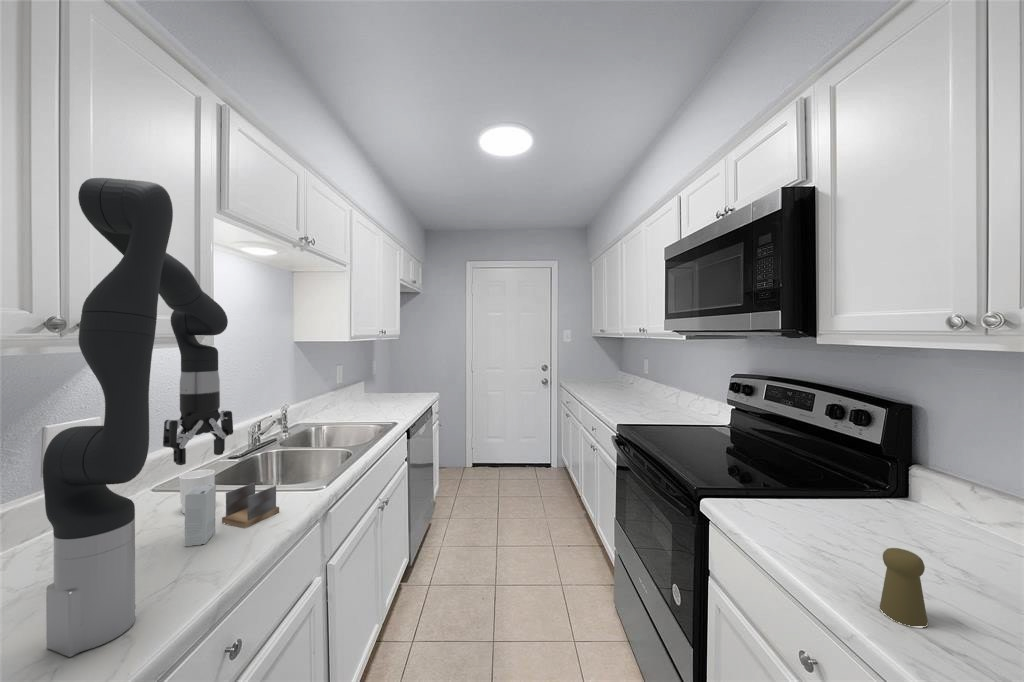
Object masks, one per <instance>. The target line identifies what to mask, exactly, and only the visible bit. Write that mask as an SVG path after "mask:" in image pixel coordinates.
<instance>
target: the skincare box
mask: <svg viewBox="0 0 1024 682" xmlns="http://www.w3.org/2000/svg"><path fill="white" fill-rule="evenodd" d="M216 491H217V486H216V484H215V483H214V485H203V486H196V487H195V488H194V489H193V490H191V491H190V492H189V493H188V494H186V495H185V514H184V541H183V543H184V544H183V545H184V547H185V546H188V547H193V546H192V545H198V546H202V545H201V544H204V545H205V544H207V543H208V542H209V540H210V539H211V538H212V537H213V536H214V534H215V533H216V504H217V503H216V500H217V499H216V496H217V494H216V493H217V492H216Z"/></svg>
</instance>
